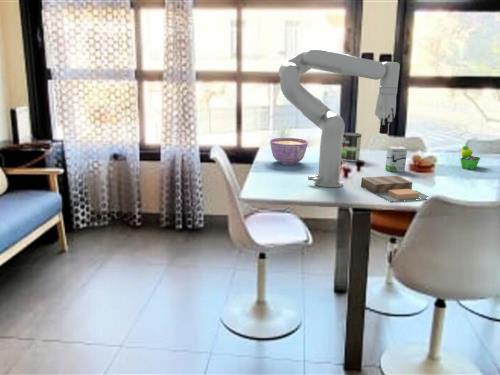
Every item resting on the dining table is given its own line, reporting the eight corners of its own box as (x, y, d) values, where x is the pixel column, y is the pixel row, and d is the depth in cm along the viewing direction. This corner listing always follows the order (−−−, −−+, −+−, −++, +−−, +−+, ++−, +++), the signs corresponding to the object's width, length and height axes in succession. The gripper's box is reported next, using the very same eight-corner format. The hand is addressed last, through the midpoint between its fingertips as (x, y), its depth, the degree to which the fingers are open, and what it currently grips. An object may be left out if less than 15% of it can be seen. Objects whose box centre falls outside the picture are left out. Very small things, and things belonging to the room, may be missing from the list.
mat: (390, 202, 209) (390, 201, 209) (375, 193, 220) (375, 193, 220) (432, 199, 215) (433, 198, 214) (416, 191, 226) (416, 190, 225)
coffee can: (347, 162, 279) (349, 136, 275) (336, 158, 288) (338, 132, 284) (363, 160, 283) (365, 135, 279) (352, 156, 292) (354, 131, 288)
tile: (388, 190, 218) (388, 194, 218) (397, 194, 211) (397, 199, 212) (409, 188, 220) (408, 193, 221) (418, 193, 214) (418, 197, 215)
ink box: (389, 171, 259) (391, 148, 256) (384, 169, 264) (387, 146, 261) (405, 171, 261) (407, 148, 258) (400, 169, 266) (403, 146, 263)
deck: (374, 193, 220) (375, 184, 219) (360, 186, 232) (361, 177, 230) (411, 191, 225) (412, 182, 224) (396, 184, 237) (397, 175, 235)
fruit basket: (473, 170, 267) (477, 149, 264) (456, 167, 272) (459, 146, 269) (479, 166, 275) (482, 145, 272) (462, 164, 281) (465, 143, 278)
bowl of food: (308, 167, 263) (310, 145, 260) (269, 166, 264) (270, 144, 261) (305, 159, 283) (306, 138, 280) (268, 158, 283) (269, 137, 280)
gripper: (372, 89, 230) (367, 130, 235) (388, 93, 216) (383, 136, 221) (387, 89, 231) (383, 130, 236) (404, 93, 217) (399, 136, 222)
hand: (383, 133), depth 228 cm, fingers closed
